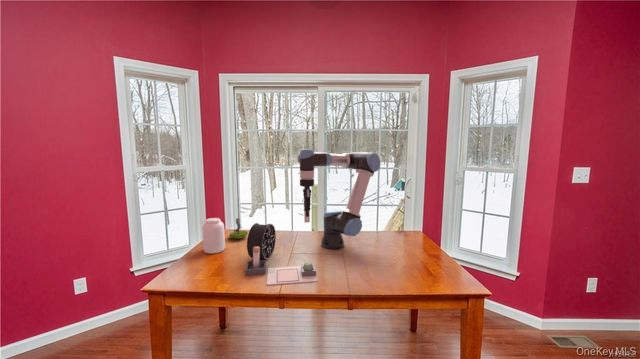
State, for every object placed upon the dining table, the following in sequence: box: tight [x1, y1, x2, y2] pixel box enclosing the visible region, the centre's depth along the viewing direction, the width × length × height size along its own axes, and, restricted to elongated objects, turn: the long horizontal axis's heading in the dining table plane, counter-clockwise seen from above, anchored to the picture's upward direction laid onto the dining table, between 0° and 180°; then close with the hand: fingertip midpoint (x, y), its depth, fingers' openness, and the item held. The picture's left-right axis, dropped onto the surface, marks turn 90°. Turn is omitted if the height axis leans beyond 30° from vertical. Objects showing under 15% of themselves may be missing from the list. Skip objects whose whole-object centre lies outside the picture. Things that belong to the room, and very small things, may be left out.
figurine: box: [228, 217, 249, 240], centre depth 188 cm, size 14×13×15 cm
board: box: [266, 265, 318, 286], centre depth 135 cm, size 24×17×1 cm
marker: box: [252, 246, 260, 269], centre depth 140 cm, size 3×3×12 cm
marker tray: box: [244, 259, 267, 276], centre depth 140 cm, size 10×10×3 cm
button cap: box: [303, 262, 314, 271], centre depth 136 cm, size 4×4×4 cm
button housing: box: [300, 264, 317, 277], centre depth 137 cm, size 7×7×2 cm
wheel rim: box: [246, 222, 277, 260], centre depth 156 cm, size 20×9×20 cm, turn 168°
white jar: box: [202, 217, 226, 255], centre depth 166 cm, size 12×12×20 cm
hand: (307, 222), depth 144 cm, fingers closed
